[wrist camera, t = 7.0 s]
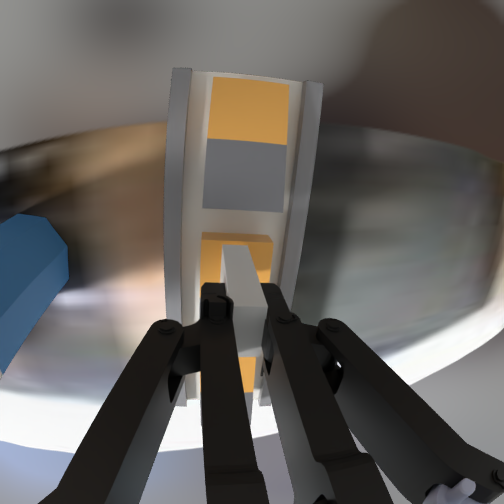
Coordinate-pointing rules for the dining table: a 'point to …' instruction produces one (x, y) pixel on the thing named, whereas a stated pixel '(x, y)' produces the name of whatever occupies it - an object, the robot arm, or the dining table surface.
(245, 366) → the rocker
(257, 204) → the rocker
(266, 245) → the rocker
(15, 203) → the dining table surface
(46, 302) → the water bottle
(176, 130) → the power strip
